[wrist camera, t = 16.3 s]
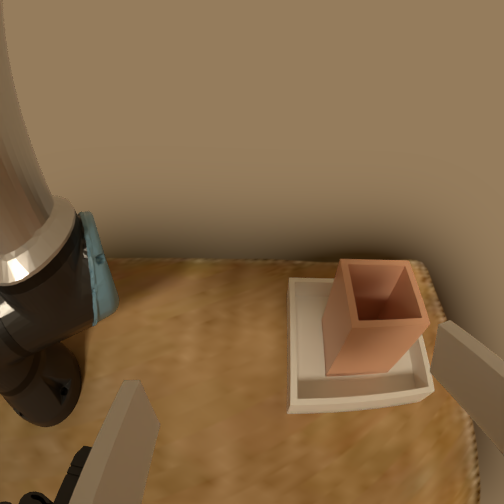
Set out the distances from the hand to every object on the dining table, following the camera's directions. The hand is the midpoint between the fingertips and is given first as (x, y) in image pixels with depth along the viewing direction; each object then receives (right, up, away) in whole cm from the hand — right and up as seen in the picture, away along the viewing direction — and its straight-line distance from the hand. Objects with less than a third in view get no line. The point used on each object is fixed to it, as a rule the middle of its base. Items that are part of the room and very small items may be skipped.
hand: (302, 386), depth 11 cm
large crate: (+12, -8, +28) cm, 31 cm away
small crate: (+12, -8, +27) cm, 31 cm away
